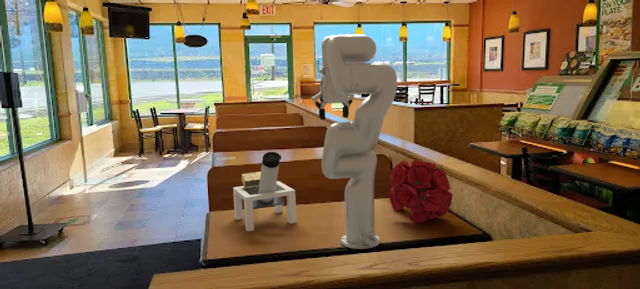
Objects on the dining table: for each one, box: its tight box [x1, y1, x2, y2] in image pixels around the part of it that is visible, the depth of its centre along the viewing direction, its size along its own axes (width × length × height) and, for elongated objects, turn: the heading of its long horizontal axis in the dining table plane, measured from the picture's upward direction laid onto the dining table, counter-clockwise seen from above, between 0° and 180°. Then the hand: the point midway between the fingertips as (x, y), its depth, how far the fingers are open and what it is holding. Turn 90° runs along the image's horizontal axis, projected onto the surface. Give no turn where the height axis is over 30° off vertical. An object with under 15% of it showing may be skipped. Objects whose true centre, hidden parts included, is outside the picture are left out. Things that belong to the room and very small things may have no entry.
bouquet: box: [388, 159, 454, 223], centre depth 167 cm, size 22×24×30 cm
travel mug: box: [258, 151, 282, 203], centre depth 163 cm, size 6×7×20 cm
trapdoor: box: [241, 171, 285, 210], centre depth 171 cm, size 16×13×4 cm
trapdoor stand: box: [232, 180, 298, 232], centre depth 170 cm, size 18×19×12 cm
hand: (334, 118), depth 167 cm, fingers open, 9 cm apart
